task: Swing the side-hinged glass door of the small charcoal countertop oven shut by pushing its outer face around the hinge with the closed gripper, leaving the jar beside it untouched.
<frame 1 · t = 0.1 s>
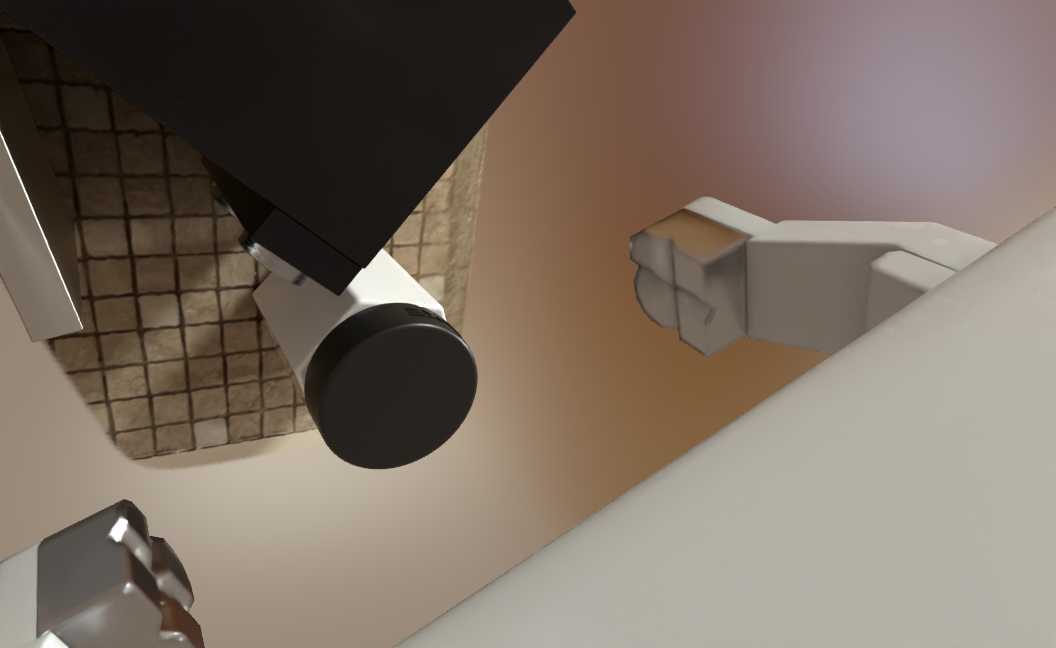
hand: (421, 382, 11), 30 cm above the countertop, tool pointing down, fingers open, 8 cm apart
jar: (327, 297, 43), on the countertop
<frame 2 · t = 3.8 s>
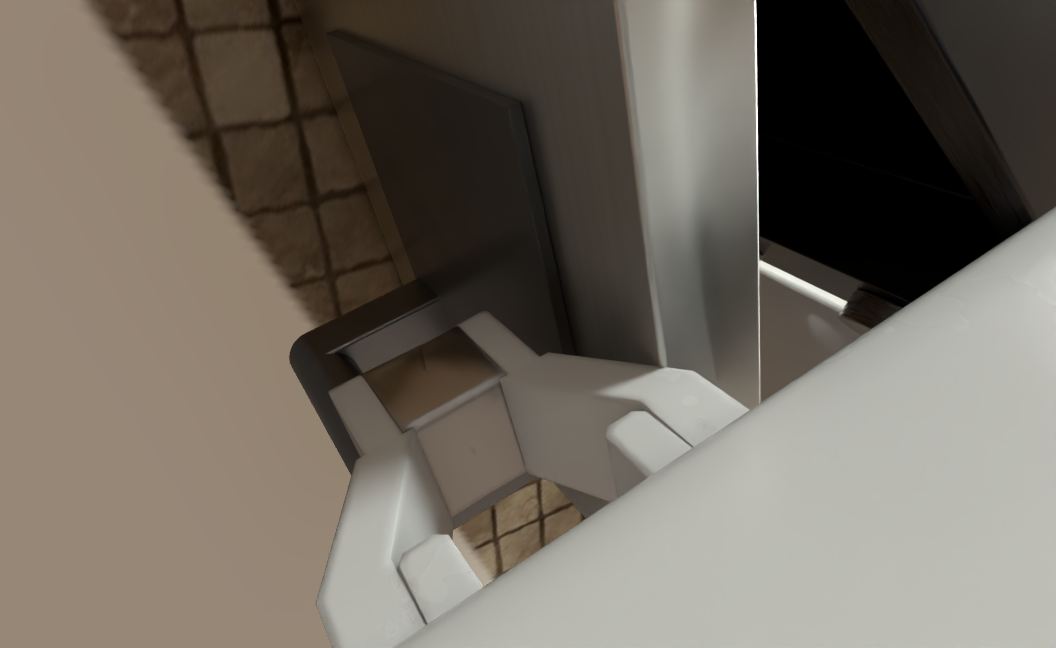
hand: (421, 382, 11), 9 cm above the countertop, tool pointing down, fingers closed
jar: (739, 334, 29), on the countertop
oven door: (411, 270, 13), point 6 cm above the countertop, hinge at 40.0°, touching gripper
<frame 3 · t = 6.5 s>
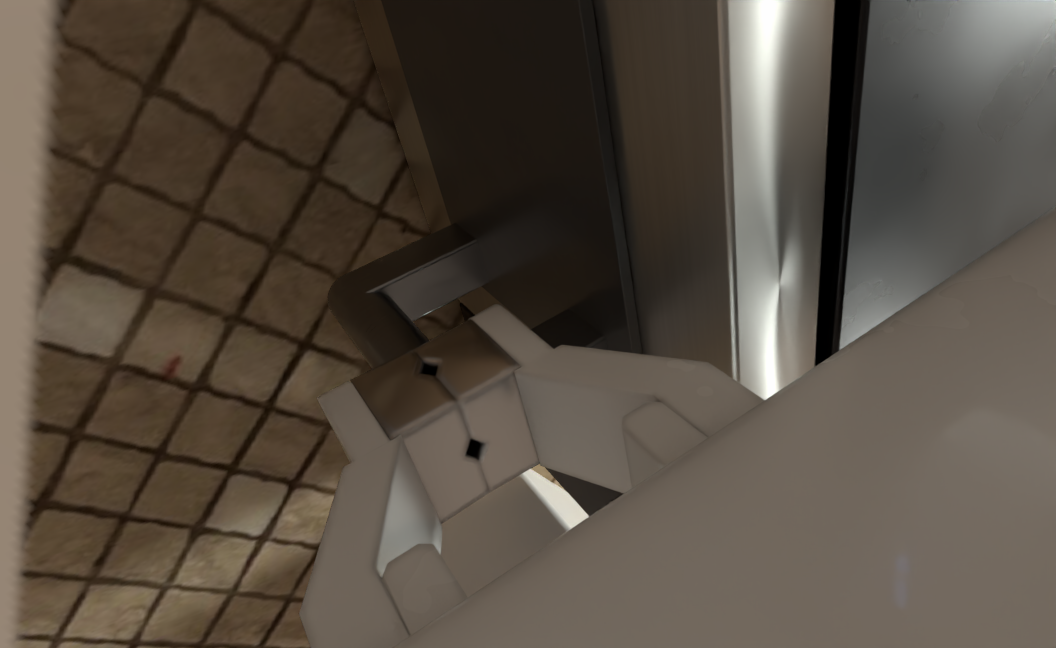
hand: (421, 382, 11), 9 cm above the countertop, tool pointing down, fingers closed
oven: (668, 88, 22), on the countertop
jar: (468, 547, 27), on the countertop
oven door: (457, 200, 13), point 6 cm above the countertop, hinge at -0.6°
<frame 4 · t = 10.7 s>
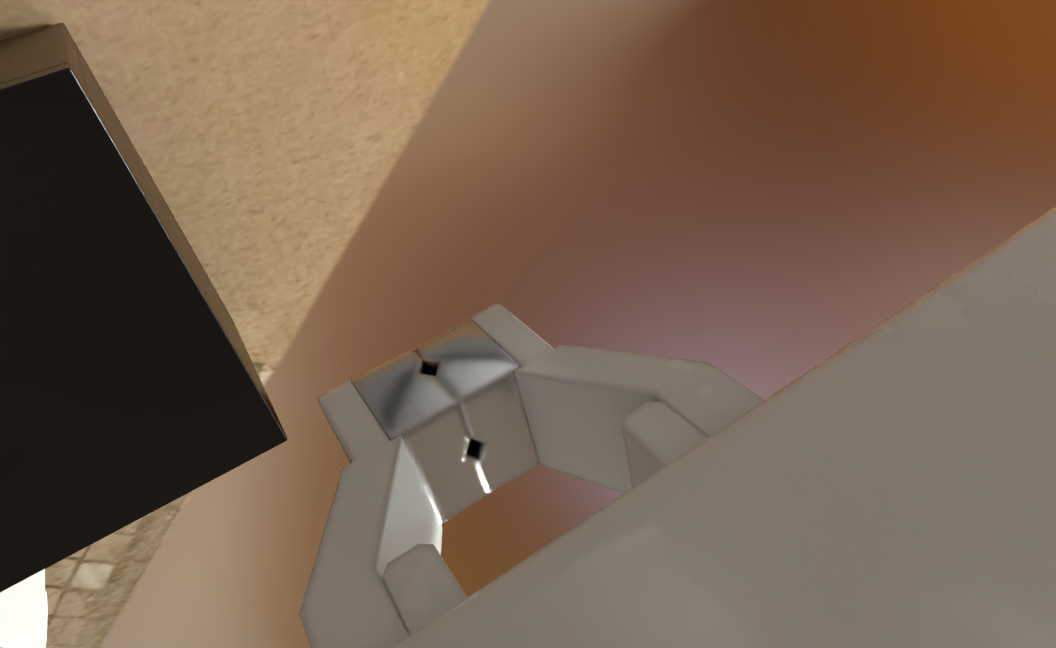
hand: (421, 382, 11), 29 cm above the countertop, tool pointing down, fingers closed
oven: (6, 251, 32), on the countertop
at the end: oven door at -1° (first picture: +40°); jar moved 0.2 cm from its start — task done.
